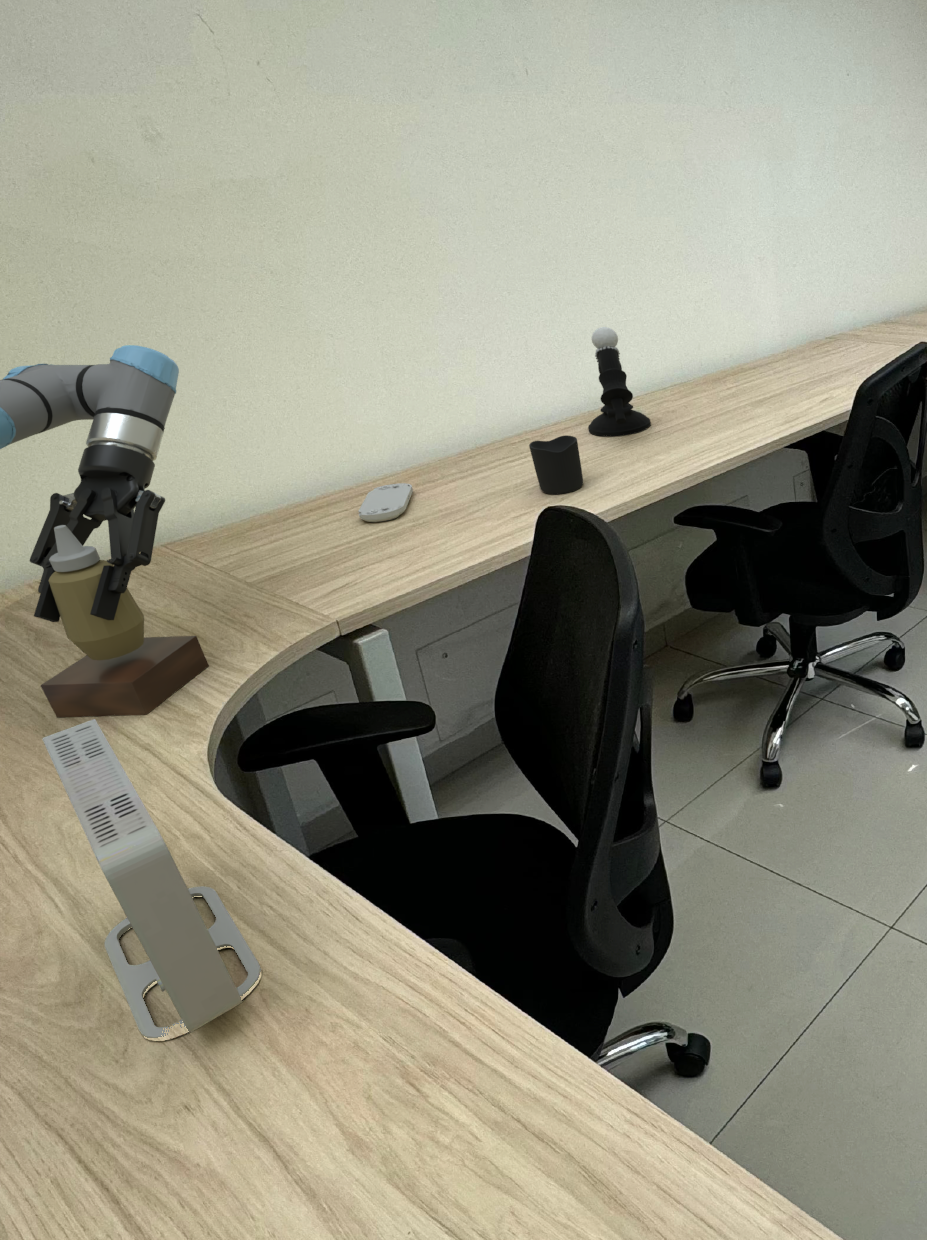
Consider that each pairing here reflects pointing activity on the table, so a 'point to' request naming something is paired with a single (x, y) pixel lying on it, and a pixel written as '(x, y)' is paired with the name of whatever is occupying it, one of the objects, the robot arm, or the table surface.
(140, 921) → the network device
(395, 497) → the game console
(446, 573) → the table surface
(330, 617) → the table surface
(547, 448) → the pen holder
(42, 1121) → the table surface
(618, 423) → the sculpture
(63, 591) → the squeeze bottle
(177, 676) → the riser
